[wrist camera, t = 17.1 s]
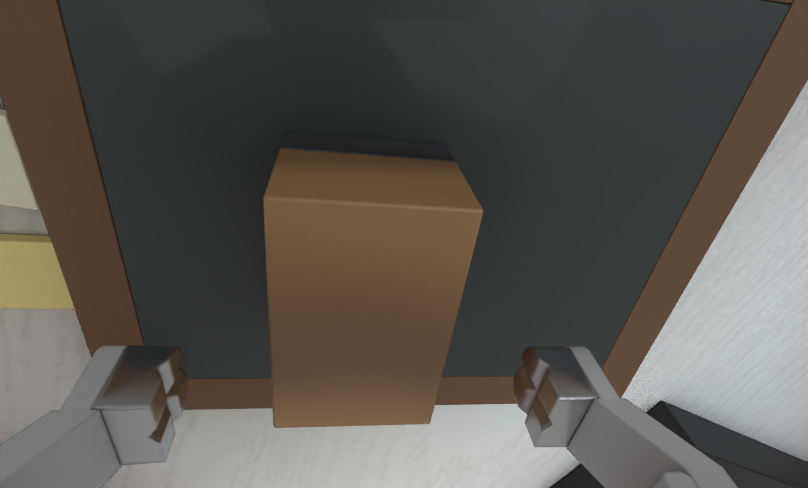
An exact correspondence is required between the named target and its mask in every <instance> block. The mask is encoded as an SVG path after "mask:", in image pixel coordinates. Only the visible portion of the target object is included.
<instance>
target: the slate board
mask: <svg viewBox="0 0 808 488" xmlns="http://www.w3.org/2000/svg"><path fill="white" fill-rule="evenodd" d="M807 80H808V0H0V95H1V98H2V100H3V103H4V106H5V109H6V112H7V115H8V118H9V121H10V124H11V126H12V129H13V132H14V135H15V138H16V141H17V144H18V147H19V149H20V152H21V155H22V158H23V161H24V164H25V167H26V170H27V173H28V175H29V178H30V181H31V184H32V187H33V190H34V193H35V196H36V199H37V201H38V204H39V207H40V210H41V213H42V216H43V219H44V222H45V224H46V227H47V230H48V233H49V236H50V239H51V242H52V245H53V248H54V250H55V253H56V256H57V259H58V262H59V265H60V268H61V271H62V274H63V276H64V279H65V282H66V285H67V288H68V291H69V294H70V297H71V300H72V302H73V305H74V308H75V311H76V314H77V317H78V320H79V323H80V325H81V328H82V331H83V334H84V337H85V340H86V343H87V346H88V349H89V351H90V354H91V357H93V355H94V353H95V352H96V350H98V349H99V348H100V347H101V346H103V345H127V346H129V345H142V346H177V347H180V348H181V351H182V355H183V360H182V363H181V365H180V368H182V369H183V370H184V371H185V372H186V375H187V396H186V402H185V405H184V409H183V410H193V409H247V408H273V406H272V384H271V361H270V339H269V317H268V295H267V272H266V250H265V228H264V206H263V198H264V195H265V192H266V189H267V186H268V183H269V180H270V177H271V173H272V170H273V167H274V164H275V161H276V158H277V155H278V152H279V148H280V145H281V142H282V139H283V136H284V133H285V131H298V132H310V133H322V134H334V135H346V136H357V137H369V138H381V139H393V140H404V141H416V142H428V143H440V144H446V145H447V147H448V149H449V150H450V152H451V154H452V156H453V157H454V159H455V161H456V163H457V165H458V167H459V168H460V170H461V172H462V174H463V175H464V177H465V179H466V181H467V182H468V184H469V186H470V188H471V189H472V191H473V193H474V195H475V197H476V198H477V200H478V202H479V204H480V205H481V207H482V209H483V215H482V219H481V223H480V227H479V231H478V235H477V239H476V243H475V247H474V251H473V255H472V259H471V262H470V266H469V270H468V274H467V278H466V282H465V286H464V290H463V294H462V298H461V302H460V306H459V310H458V314H457V318H456V322H455V326H454V330H453V334H452V338H451V342H450V346H449V350H448V354H447V358H446V362H445V366H444V370H443V373H442V377H441V381H440V385H439V389H438V393H437V397H436V401H435V405H462V404H516V403H517V401H516V399H515V395H514V390H513V387H514V376H515V373H516V370H517V369H518V368H519V367H521V366H522V365H523V364H524V361H523V359H522V355H523V353H524V350H525V349H526V348H528V347H542V346H563V347H566V346H585V347H586V348H587V349H589V351H590V352H591V354H592V355H593V357H594V358H595V360H596V362H597V363H598V365H599V366H600V368H601V369H602V371H603V373H604V374H605V376H606V377H607V379H608V380H609V382H610V384H611V385H612V387H613V388H614V390H615V391H616V393H617V395H618V396H619V398H620V399H621V397H622V395H623V394H624V392H625V390H626V389H627V387H628V385H629V383H630V382H631V380H632V378H633V377H634V375H635V373H636V372H637V370H638V368H639V366H640V365H641V363H642V361H643V360H644V358H645V356H646V355H647V353H648V351H649V349H650V348H651V346H652V344H653V343H654V341H655V339H656V337H657V336H658V334H659V332H660V331H661V329H662V327H663V326H664V324H665V322H666V320H667V319H668V317H669V315H670V314H671V312H672V310H673V308H674V307H675V305H676V303H677V302H678V300H679V298H680V297H681V295H682V293H683V291H684V290H685V288H686V286H687V285H688V283H689V281H690V279H691V278H692V276H693V274H694V273H695V271H696V269H697V268H698V266H699V264H700V262H701V261H702V259H703V257H704V256H705V254H706V252H707V250H708V249H709V247H710V245H711V244H712V242H713V240H714V239H715V237H716V235H717V233H718V232H719V230H720V228H721V227H722V225H723V223H724V221H725V220H726V218H727V216H728V215H729V213H730V211H731V210H732V208H733V206H734V204H735V203H736V201H737V199H738V198H739V196H740V194H741V193H742V191H743V189H744V187H745V186H746V184H747V182H748V181H749V179H750V177H751V175H752V174H753V172H754V170H755V169H756V167H757V165H758V164H759V162H760V160H761V158H762V157H763V155H764V153H765V152H766V150H767V148H768V146H769V145H770V143H771V141H772V140H773V138H774V136H775V135H776V133H777V131H778V129H779V128H780V126H781V124H782V123H783V121H784V119H785V117H786V116H787V114H788V112H789V111H790V109H791V107H792V106H793V104H794V102H795V100H796V99H797V97H798V95H799V94H800V92H801V90H802V88H803V87H804V85H805V83H806V82H807Z"/></svg>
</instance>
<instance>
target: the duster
mask: <svg viewBox="0 0 808 488" xmlns="http://www.w3.org/2000/svg"><path fill="white" fill-rule="evenodd" d="M263 206H264V228H265V250H266V272H267V295H268V317H269V339H270V361H271V384H272V406H273V425H274V427H275V428H289V427H327V426H366V425H405V424H429V423H430V421H431V417H432V413H433V409H434V405H435V401H436V397H437V393H438V389H439V385H440V381H441V377H442V373H443V370H444V366H445V362H446V358H447V354H448V350H449V346H450V342H451V338H452V334H453V330H454V326H455V322H456V318H457V314H458V310H459V306H460V302H461V298H462V294H463V290H464V286H465V282H466V278H467V274H468V270H469V266H470V262H471V259H472V255H473V251H474V247H475V243H476V239H477V235H478V231H479V227H480V223H481V219H482V215H483V209H482V207H481V205H480V204H479V202H478V200H477V198H476V197H475V195H474V193H473V191H472V189H471V188H470V186H469V184H468V182H467V181H466V179H465V177H464V175H463V174H462V172H461V170H460V168H459V167H458V165H457V163H456V161H455V159H454V157H453V156H452V154H451V152H450V150H449V149H448V147H447V145H446V144H440V143H428V142H416V141H404V140H393V139H381V138H369V137H357V136H346V135H334V134H322V133H310V132H298V131H285V133H284V136H283V139H282V142H281V145H280V148H279V152H278V155H277V158H276V161H275V164H274V167H273V170H272V173H271V177H270V180H269V183H268V186H267V189H266V192H265V195H264V198H263Z"/></svg>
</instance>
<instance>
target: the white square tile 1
mask: <svg viewBox="0 0 808 488" xmlns="http://www.w3.org/2000/svg"><path fill="white" fill-rule="evenodd" d="M0 205H6V206H12V207H18V208H25V209H31V210H40V207H39V204H38V201H37V199H36V196H35V193H34V190H33V187H32V184H31V181H30V178H29V175H28V173H27V170H26V167H25V164H24V161H23V158H22V155H21V152H20V149H19V147H18V144H17V141H16V138H15V135H14V132H13V129H12V126H11V124H10V121H9V118H8V115H7V112H6V110H5V109H0Z"/></svg>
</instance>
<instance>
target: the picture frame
mask: <svg viewBox="0 0 808 488" xmlns="http://www.w3.org/2000/svg"><path fill="white" fill-rule="evenodd" d="M647 414H648V415H649V416H651V417H652V418H654V419H655V420H656V421H658V422H659V423H661V424H662V425H663V426H665V427H666V428H668V429H669V430H671V431H672V432H673V433H675V434H676V435H678V436H679V437H680V438H682V439H683V440H685V441H686V442H687V443H689V444H690V445H692V446H693V447H694V448H696V449H697V450H699V451H700V452H702V453H703V454H704V455H706V456H707V457H709V458H710V459H711V460H713V461H714V462H716V463H717V464H718V465H720V466H721V467H723V468H724V470H725V471H726V473H727V474H728V475H729V477H730V478H731V479H732V481H733V482H734V483H735V485H736V486H737V487H738V488H808V463H807V462H805V461H803V460H800V459H798V458H796V457H793V456H791V455H788V454H786V453H784V452H781V451H779V450H777V449H774V448H772V447H769V446H767V445H765V444H762V443H760V442H758V441H755V440H753V439H751V438H748V437H746V436H743V435H741V434H739V433H736V432H734V431H732V430H729V429H727V428H724V427H722V426H720V425H717V424H715V423H713V422H710V421H708V420H706V419H703V418H701V417H698V416H696V415H694V414H691V413H689V412H687V411H684V410H682V409H679V408H677V407H675V406H672V405H670V404H668V403H665V402H661V403H660V404H658V405H657V406H656V407H655V408H653V409H652V410H651V411H649V412H648V413H647ZM552 488H605V487H604V486H603V485H602V484H601V483H600V482H599V481H598V480H597V479H596V478H595V477H594V476H593V475H592V474H591V473H590V472H589V471H588V470H587V469H586V468H585V467H584V466H583V465H580V466H579V467H578V468H577V469H575V470H574V471H573V472H571V473H570V474H569V475H568V476H566V477H565V478H564V479H563V480H561V481H560V482H559V483H557V484H556V485H555V486H554V487H552Z"/></svg>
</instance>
